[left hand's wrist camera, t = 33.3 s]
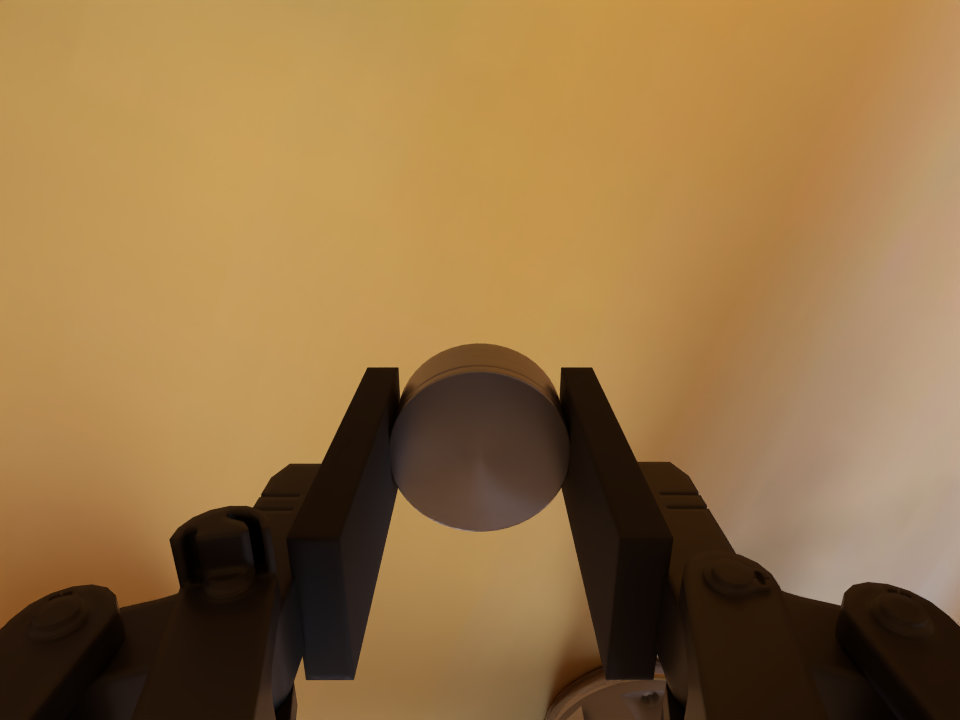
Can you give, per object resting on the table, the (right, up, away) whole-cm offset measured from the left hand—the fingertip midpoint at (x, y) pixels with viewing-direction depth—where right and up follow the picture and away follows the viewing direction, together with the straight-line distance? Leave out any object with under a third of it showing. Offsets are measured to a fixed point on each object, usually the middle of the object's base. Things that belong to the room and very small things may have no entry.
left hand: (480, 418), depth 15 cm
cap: (0, -1, -2) cm, 2 cm away
